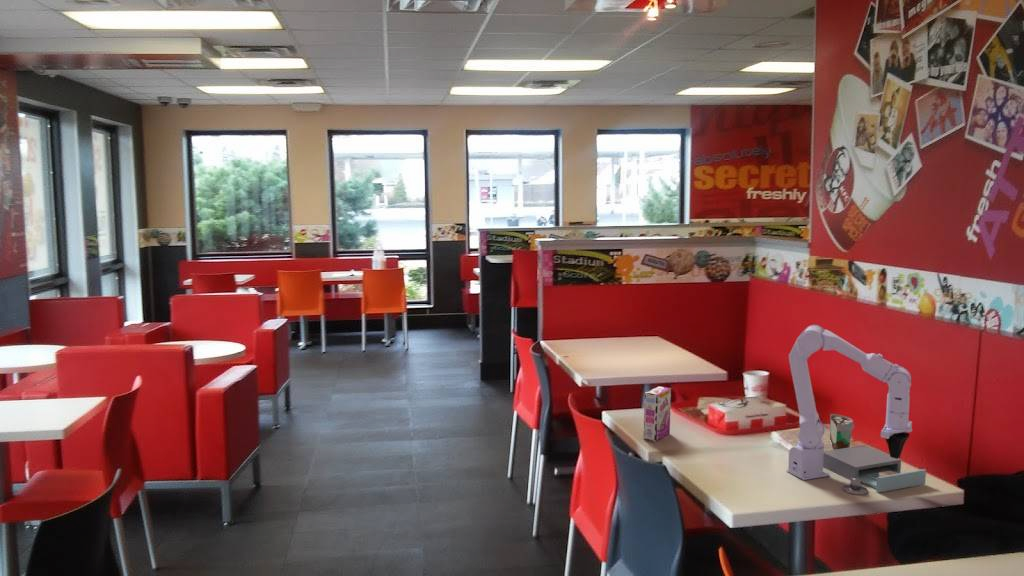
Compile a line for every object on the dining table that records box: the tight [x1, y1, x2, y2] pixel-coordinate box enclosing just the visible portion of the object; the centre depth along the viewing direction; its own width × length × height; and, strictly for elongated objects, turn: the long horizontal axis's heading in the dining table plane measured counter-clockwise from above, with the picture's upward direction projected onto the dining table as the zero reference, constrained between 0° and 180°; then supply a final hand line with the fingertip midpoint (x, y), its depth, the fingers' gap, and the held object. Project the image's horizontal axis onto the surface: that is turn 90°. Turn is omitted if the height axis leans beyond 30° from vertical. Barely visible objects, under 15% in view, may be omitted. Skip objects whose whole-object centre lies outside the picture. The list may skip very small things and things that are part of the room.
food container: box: [829, 413, 855, 450], centre depth 257 cm, size 12×6×10 cm, turn 168°
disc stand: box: [842, 477, 869, 495], centre depth 224 cm, size 6×6×4 cm
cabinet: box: [823, 444, 902, 481], centre depth 240 cm, size 14×17×4 cm
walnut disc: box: [879, 471, 897, 477], centre depth 230 cm, size 5×5×2 cm
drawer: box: [858, 466, 927, 493], centre depth 231 cm, size 13×17×4 cm
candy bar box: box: [642, 386, 672, 442], centre depth 271 cm, size 11×5×16 cm, turn 144°
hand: (895, 457), depth 226 cm, fingers closed
